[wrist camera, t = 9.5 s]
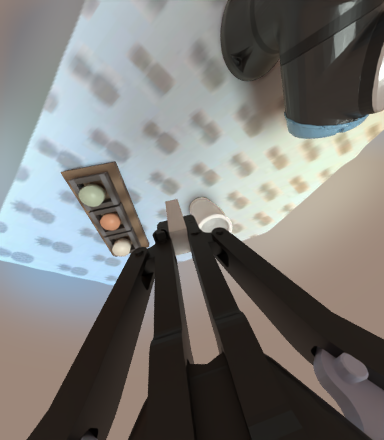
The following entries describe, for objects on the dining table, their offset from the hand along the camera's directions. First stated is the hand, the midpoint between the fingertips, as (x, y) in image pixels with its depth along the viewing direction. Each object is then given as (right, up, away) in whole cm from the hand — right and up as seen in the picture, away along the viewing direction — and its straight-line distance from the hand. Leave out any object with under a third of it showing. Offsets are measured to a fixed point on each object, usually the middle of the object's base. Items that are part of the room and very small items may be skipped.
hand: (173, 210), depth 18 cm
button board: (-23, +1, +28) cm, 36 cm away
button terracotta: (-22, -1, +25) cm, 34 cm away
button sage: (-23, +6, +19) cm, 30 cm away
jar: (+5, +3, +33) cm, 34 cm away
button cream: (-20, -9, +29) cm, 36 cm away
